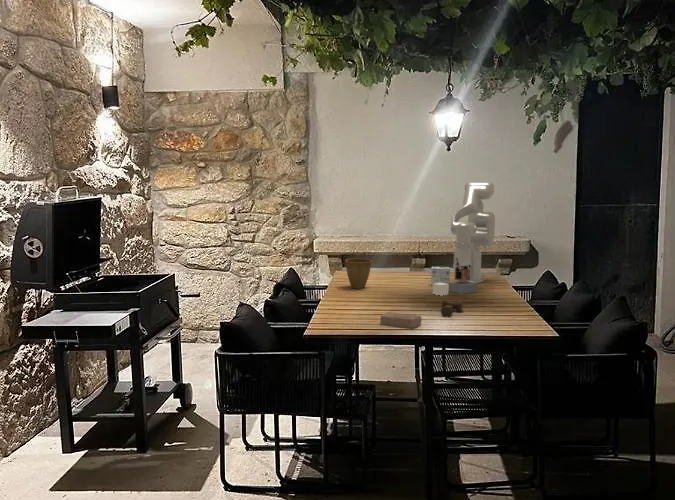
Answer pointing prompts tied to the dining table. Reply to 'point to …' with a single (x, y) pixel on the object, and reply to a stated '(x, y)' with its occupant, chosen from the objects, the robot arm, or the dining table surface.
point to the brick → (400, 320)
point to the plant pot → (358, 272)
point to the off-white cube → (440, 289)
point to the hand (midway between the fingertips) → (462, 277)
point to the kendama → (450, 307)
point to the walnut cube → (464, 274)
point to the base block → (462, 287)
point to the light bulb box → (440, 275)
